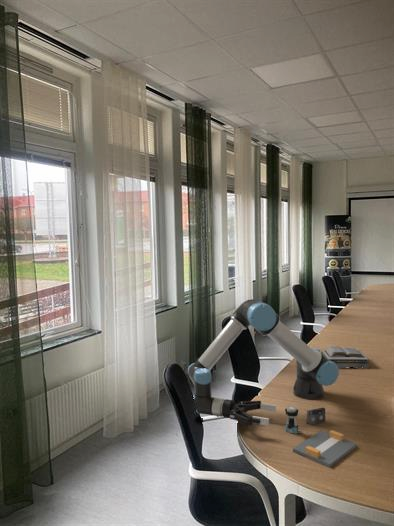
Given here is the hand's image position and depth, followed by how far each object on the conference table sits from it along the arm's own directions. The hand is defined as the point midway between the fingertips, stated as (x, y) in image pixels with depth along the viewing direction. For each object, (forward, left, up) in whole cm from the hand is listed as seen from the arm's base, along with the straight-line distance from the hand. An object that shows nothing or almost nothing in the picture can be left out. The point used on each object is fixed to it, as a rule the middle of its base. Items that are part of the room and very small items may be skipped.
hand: (272, 415), depth 169 cm
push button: (-4, +8, -6) cm, 11 cm away
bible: (-102, -21, -7) cm, 104 cm away
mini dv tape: (-18, +10, -6) cm, 21 cm away
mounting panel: (-1, +24, -6) cm, 24 cm away
